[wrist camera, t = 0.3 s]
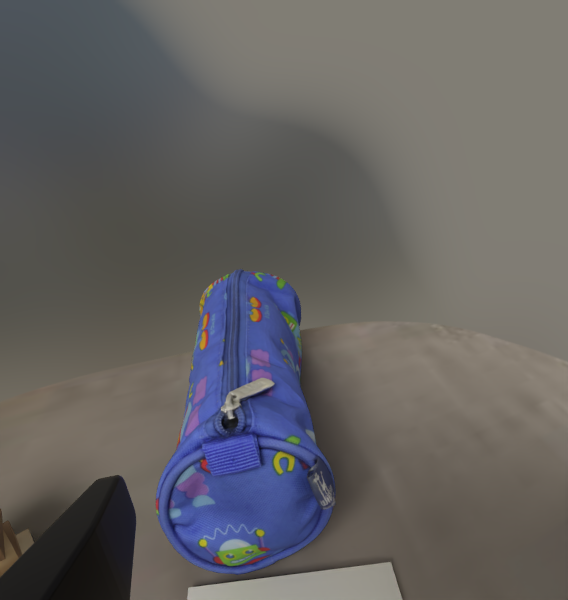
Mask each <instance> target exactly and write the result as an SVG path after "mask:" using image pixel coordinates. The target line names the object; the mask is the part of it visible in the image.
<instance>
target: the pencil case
mask: <svg viewBox="0 0 568 600" xmlns="http://www.w3.org/2000/svg"><path fill="white" fill-rule="evenodd" d="M300 321H301V307H300V301H299V298H298V296H297V294H296V292H295V290H294V289H293V288H292V287H291V286H290V285H289V284H288V283H287V282H285V281H284V280H282V279H281V278H279V277H277V276H274V275H271V274H266V273H261V272H254V271H253V272H244V270H242V269H240V270H235V272H234V273H232V274H228V275H226V276H224V277H222V278H220V279H218V280H217V281H215V282H214V283H212V284H211V285H210V286H209V287H208V288H207V289H206V290H205V291H204V293H203V295H202V298H201V302H200V321H199V325H198V330H197V336H196V343H195V349H194V353H193V356H192V365H191V373H190V378H189V382H190V387H189V391H188V395H187V400H186V408H185V413H184V421H183V424H182V427H181V430H180V434H179V438H178V443H177V449H176V452H175V453H174V455H173V456H172V458H171V459H170V461H169V462H168V464H167V466H166V468H165V470H164V472H163V474H162V476H161V478H160V481H159V484H158V488H157V494H156V512H157V516H158V519H159V522H160V525H161V528H162V529H163V531H164V533H165V534H166V536H167V538H168V540H169V541H170V543H171V544H172V545H173V547H174V548H175V549H176V550H177V552H178V553H179V554H181V555H182V556H183V557H184V558H185V559H186V560H188V561H189V562H191V563H192V564H194V565H196V566H198V567H201V568H203V569H206V570H209V571H213V572H217V573H226V574H236V575H238V574H245V573H249V572H252V571H256V570H259V569H262V568H265V567H267V566H269V565H271V564H274V563H275V562H276V561H278V560H280V559H283V558H285V557H287V556H289V555H292V554H294V553H295V552H297V551H298V550H300V549H302V548H303V547H305V546H306V545H307V544H309V543H310V542H311V541H313V540H314V539H315V538H316V537H317V536H318V535H319V534H320V533H321V532H322V530H323V529H324V527H325V526H326V525H327V523H328V521H329V519H330V516H331V514H332V510H333V507H334V505H336V502H335V482H334V476H333V473H332V470H331V467H330V465H329V463H328V462H327V460H326V458H325V456H324V455H323V454H322V452H321V451H320V449H319V448H318V447H317V445H316V440H315V435H314V430H313V425H312V420H311V416H310V413H309V410H308V406H307V404H306V401H305V398H304V395H303V392H302V390H301V387H300V376H301V362H302V344H301V335H300V329H299V326H300Z"/></svg>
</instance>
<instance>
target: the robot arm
mask: <svg viewBox="0 0 568 600" xmlns="http://www.w3.org/2000/svg"><path fill="white" fill-rule="evenodd" d="M135 530H136V514H135V509H134V506H133V503H132V501H131V498H130V495H129V492H128V489H127V486H126V483H125V481H124V479H123V478H122V477H121V476H119V475H115V476H110V477H105V478H101V479H98V480H96V481H95V482H94V483H93V484H92V485H91V486H90V487H89V488H88V489H87V490H86V491H85V492H84V493H83V494H82V495H81V496H80V497H79V498H78V499H77V500H76V501H75V502H74V503H73V504H72V505H71V506H70V507H69V508H68V509H67V510H66V511H65V512H64V513H63V514H62V515H61V516H60V517H59V518H58V519H57V520H56V521H55V522H54V523H53V524H52V525H51V526H50V527H49V528H48V529H47V530H46V531H45V532H44V533H43V534H42V535H41V536H40V537H39V538H38V539H37V540H36V541H35V542H34V543H33V544H32V545H31V546H30V547H29V548H28V549H27V550H26V551H25V552H24V554H23V555H22V556H21V557H20V558H19V559H18V560H17V561H16V562H15V563H14V564H13V565H12V566H11V567H10V568H9V569H8V570H7V571H6V572H5V573H4V574H3V575H2V576H1V577H0V600H130V590H131V578H132V566H133V554H134V542H135Z"/></svg>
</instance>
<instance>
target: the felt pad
mask: <svg viewBox="0 0 568 600" xmlns="http://www.w3.org/2000/svg"><path fill="white" fill-rule="evenodd" d="M187 600H402V597H401V593H400V590H399V587H398V584H397V580H396V577H395V574H394V571H393V568H392V564H391V562H387V563H379V564H371V565H363V566H355V567H347V568H339V569H331V570H324V571H316V572H308V573H300V574H292V575H284V576H276V577H268V578H261V579H253V580H245V581H237V582H229V583H221V584H213V585H205V586H198V587H190V588H188V597H187Z"/></svg>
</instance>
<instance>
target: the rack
mask: <svg viewBox="0 0 568 600" xmlns="http://www.w3.org/2000/svg"><path fill="white" fill-rule="evenodd" d="M33 543H34V541H33V538H32V536H31V533H30V531H29V529H26V530H24V531H22V532H21V533H19V534H17V535H15V533H14V531H13V529H12V527H11V525H10V523H9V521H6V522H4V523H2V511H1V509H0V577H1V576H2V575H3V574H4V573H5V572H6V571H7V570H8V569H9V568H10V567H11V566H12V565H13V564H14V563H15V562H16V561H17V560H18V559H19V558H20V557H21V556H22V555H23V554H24V552H25V551H26V550H27V549H28V548H29V547H30V546H31V545H32V544H33Z"/></svg>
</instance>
